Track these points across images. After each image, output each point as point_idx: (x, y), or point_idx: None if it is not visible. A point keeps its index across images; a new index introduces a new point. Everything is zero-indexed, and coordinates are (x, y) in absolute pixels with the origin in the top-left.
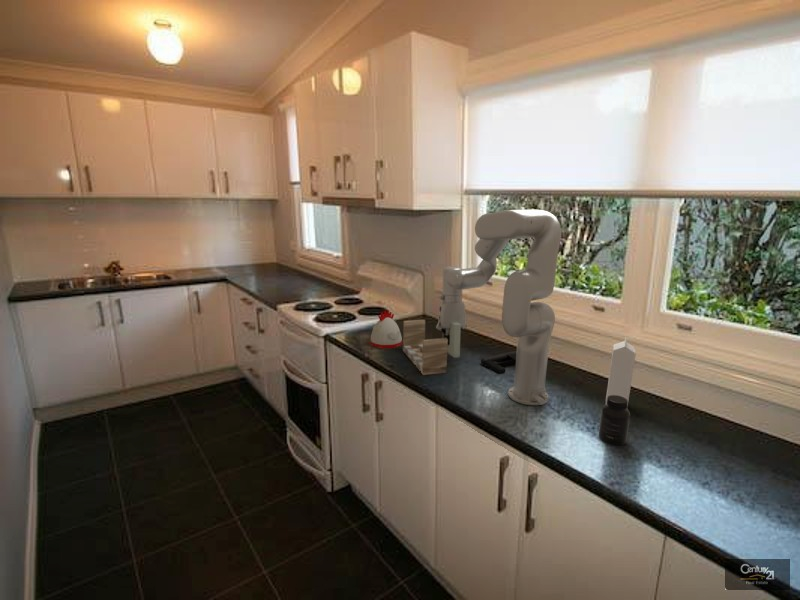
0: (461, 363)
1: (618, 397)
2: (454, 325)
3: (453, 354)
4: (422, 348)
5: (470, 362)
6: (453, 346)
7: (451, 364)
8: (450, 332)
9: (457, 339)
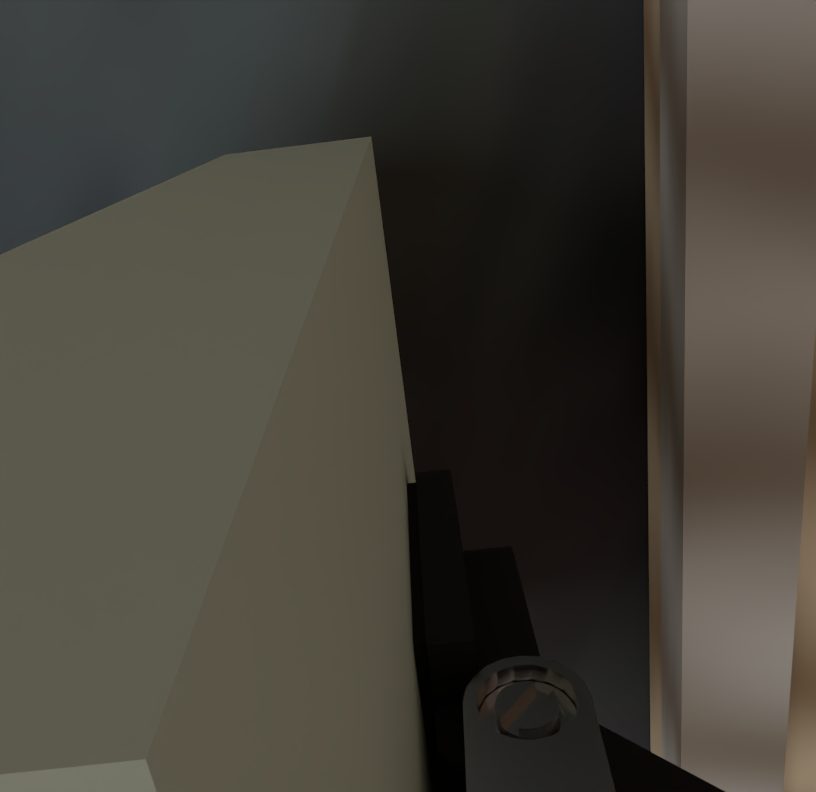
0: None
1: None
2: (205, 716)
3: (372, 160)
4: (787, 710)
5: (25, 214)
6: (369, 201)
7: (403, 161)
8: (408, 702)
9: (191, 210)
